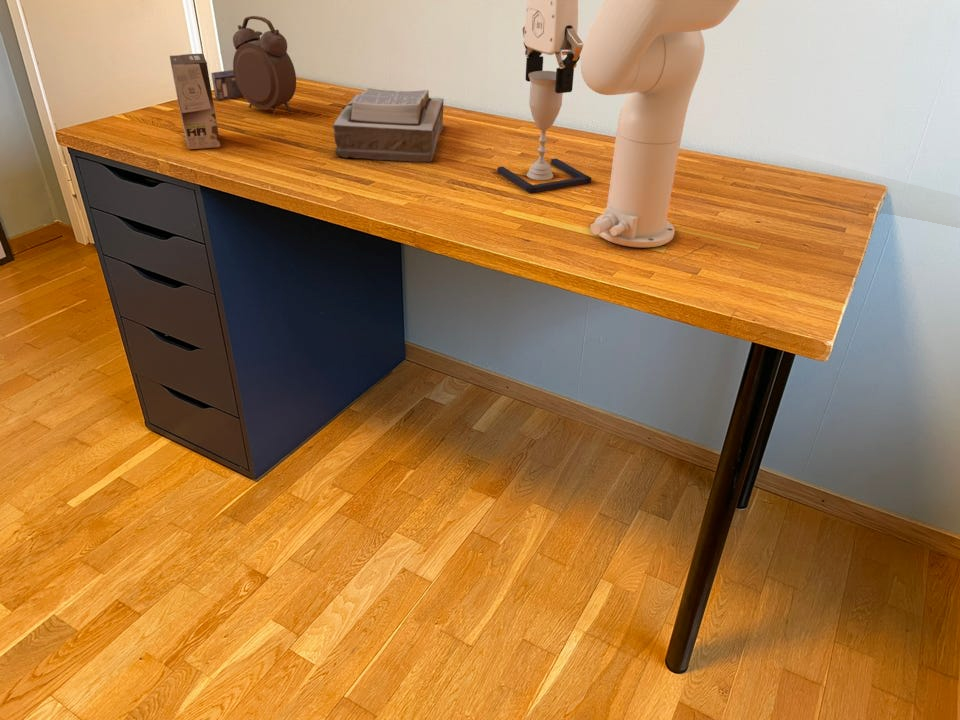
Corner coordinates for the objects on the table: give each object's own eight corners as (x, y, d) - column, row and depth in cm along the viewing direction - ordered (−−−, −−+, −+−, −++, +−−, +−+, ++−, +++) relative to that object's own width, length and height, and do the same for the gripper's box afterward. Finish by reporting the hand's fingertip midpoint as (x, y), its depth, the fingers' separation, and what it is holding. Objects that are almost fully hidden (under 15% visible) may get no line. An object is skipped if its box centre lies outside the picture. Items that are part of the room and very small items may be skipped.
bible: (313, 155, 144) (308, 104, 139) (363, 118, 166) (360, 73, 160) (426, 168, 140) (426, 115, 134) (463, 128, 162) (463, 82, 156)
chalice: (555, 183, 135) (564, 81, 125) (519, 180, 136) (525, 78, 126) (560, 170, 141) (569, 72, 131) (525, 167, 142) (531, 69, 132)
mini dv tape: (218, 100, 176) (213, 74, 172) (215, 98, 177) (211, 72, 173) (250, 95, 180) (246, 69, 177) (247, 94, 181) (243, 68, 178)
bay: (591, 183, 136) (591, 177, 135) (529, 193, 130) (530, 188, 130) (555, 163, 144) (556, 158, 144) (497, 172, 139) (497, 167, 138)
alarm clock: (304, 112, 169) (294, 18, 158) (281, 119, 164) (270, 22, 153) (259, 102, 175) (247, 10, 164) (236, 108, 170) (221, 14, 159)
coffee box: (221, 147, 147) (207, 62, 138) (187, 150, 145) (170, 64, 136) (217, 134, 154) (203, 52, 145) (185, 136, 152) (168, 54, 143)
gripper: (509, -28, 124) (505, 78, 134) (565, -17, 112) (556, 99, 121) (546, -29, 127) (540, 74, 137) (605, -18, 115) (594, 95, 124)
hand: (548, 86), depth 129 cm, fingers open, 9 cm apart
